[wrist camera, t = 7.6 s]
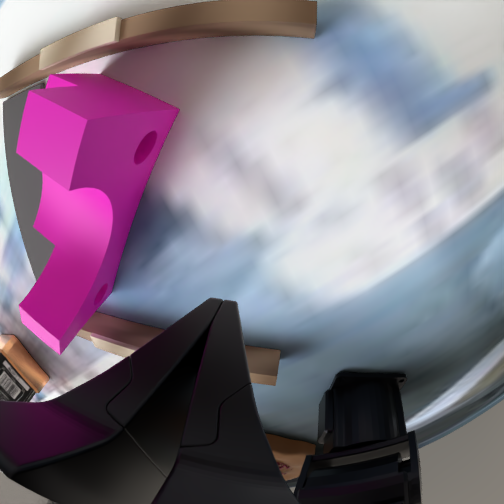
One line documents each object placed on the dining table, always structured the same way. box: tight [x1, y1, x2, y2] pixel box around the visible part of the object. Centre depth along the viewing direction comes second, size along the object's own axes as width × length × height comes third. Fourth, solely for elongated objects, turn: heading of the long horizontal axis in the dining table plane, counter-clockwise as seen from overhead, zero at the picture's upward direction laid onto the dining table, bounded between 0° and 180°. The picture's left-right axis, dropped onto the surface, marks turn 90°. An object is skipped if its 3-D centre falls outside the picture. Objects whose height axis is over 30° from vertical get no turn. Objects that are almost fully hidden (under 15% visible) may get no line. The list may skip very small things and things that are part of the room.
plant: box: [265, 433, 316, 481], centre depth 28 cm, size 20×20×11 cm
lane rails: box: [0, 0, 317, 386], centre depth 15 cm, size 24×23×3 cm
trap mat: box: [3, 84, 55, 281], centre depth 18 cm, size 6×19×1 cm, turn 178°
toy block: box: [16, 74, 180, 355], centre depth 13 cm, size 15×6×8 cm, turn 150°
